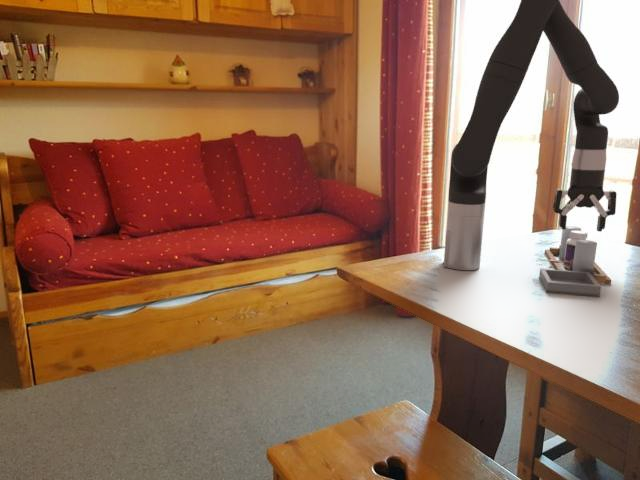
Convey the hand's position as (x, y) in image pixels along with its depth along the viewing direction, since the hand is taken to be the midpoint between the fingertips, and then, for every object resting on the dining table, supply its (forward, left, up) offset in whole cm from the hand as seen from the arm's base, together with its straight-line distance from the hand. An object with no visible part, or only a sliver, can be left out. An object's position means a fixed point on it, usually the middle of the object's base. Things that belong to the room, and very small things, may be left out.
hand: (581, 230), depth 133 cm
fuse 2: (0, -8, -10) cm, 13 cm away
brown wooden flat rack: (0, 0, -10) cm, 10 cm away
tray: (-5, -18, -10) cm, 21 cm away
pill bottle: (0, 0, -11) cm, 11 cm away
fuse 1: (0, +9, -10) cm, 14 cm away
